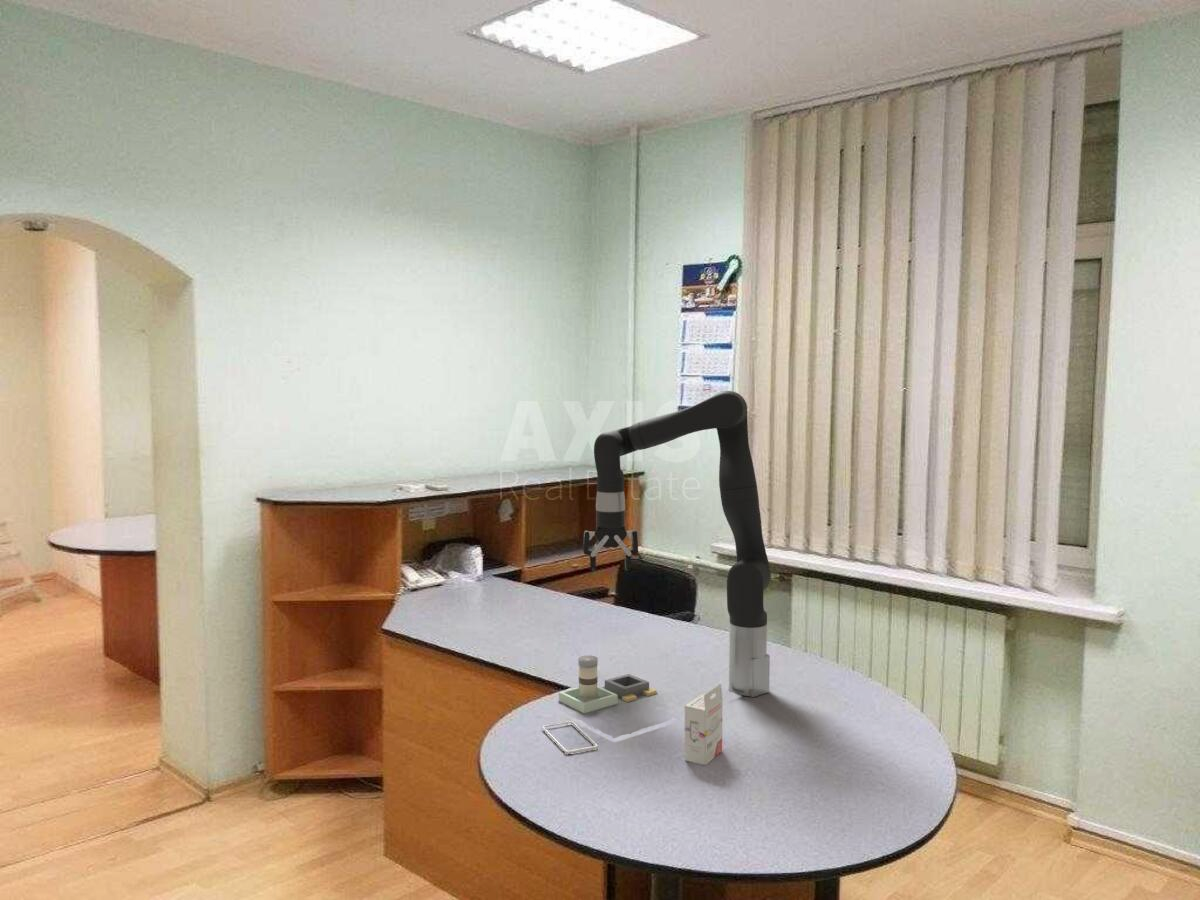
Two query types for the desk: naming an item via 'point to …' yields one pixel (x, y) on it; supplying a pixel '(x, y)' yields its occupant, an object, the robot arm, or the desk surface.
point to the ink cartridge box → (704, 727)
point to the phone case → (575, 749)
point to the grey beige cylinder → (588, 678)
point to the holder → (629, 688)
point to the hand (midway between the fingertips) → (610, 570)
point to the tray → (584, 707)
